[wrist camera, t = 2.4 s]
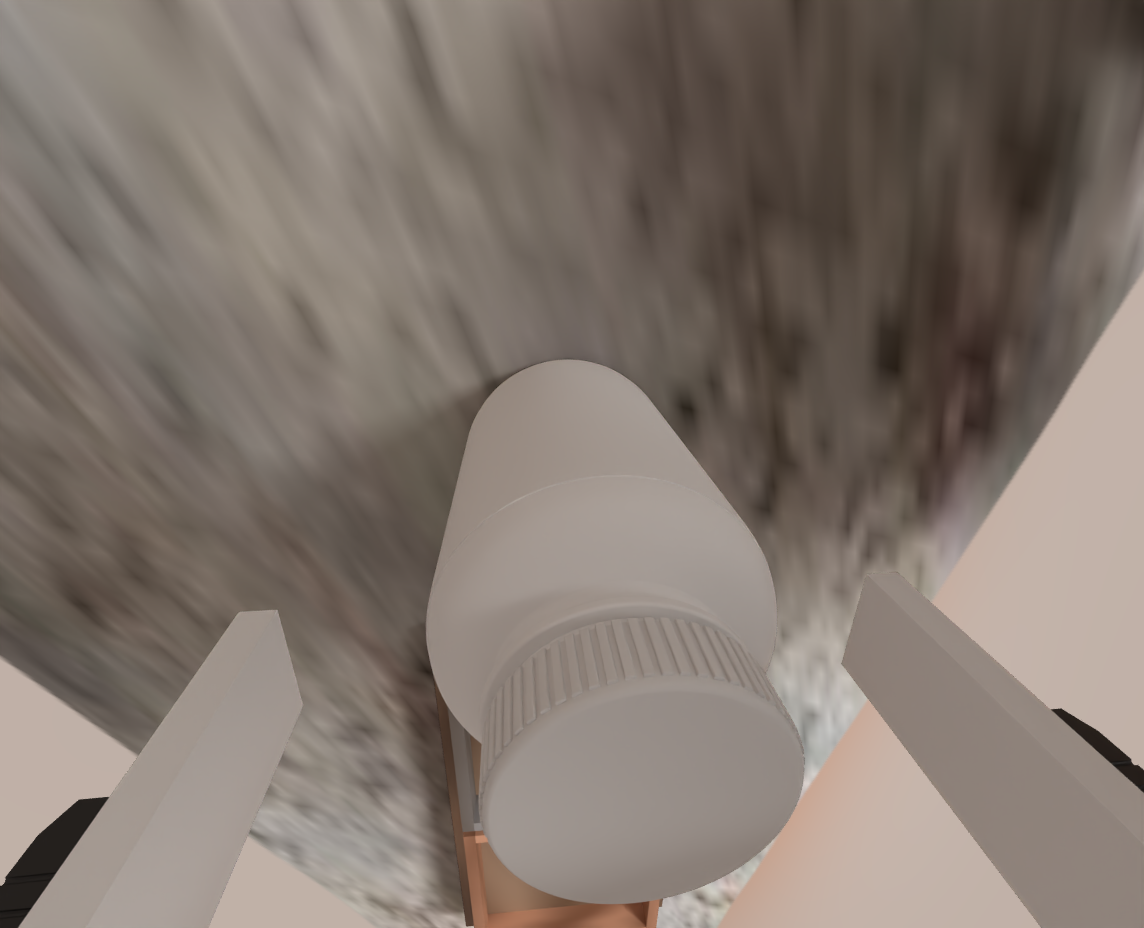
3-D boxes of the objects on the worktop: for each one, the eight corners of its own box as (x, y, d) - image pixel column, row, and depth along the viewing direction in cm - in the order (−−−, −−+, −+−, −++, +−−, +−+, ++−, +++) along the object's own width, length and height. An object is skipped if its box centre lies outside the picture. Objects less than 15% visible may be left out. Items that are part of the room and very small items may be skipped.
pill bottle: (687, 379, 21) (989, 659, 8) (627, 546, 24) (766, 961, 11) (489, 328, 20) (426, 566, 6) (451, 514, 23) (352, 948, 9)
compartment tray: (692, 607, 26) (710, 647, 24) (657, 885, 36) (667, 934, 33) (432, 621, 25) (423, 664, 23) (467, 904, 34) (463, 956, 32)
